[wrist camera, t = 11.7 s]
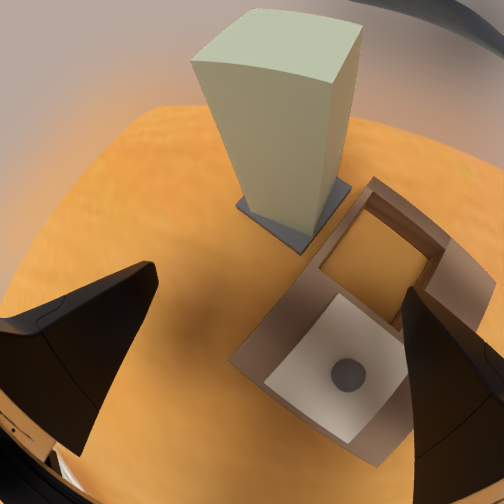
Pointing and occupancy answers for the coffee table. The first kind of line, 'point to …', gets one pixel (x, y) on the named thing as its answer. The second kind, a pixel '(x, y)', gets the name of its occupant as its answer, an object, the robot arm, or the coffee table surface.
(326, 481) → the coffee table surface
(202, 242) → the coffee table surface
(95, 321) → the robot arm
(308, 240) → the charcoal mat
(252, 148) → the sage block
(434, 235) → the brown sliding lid box
